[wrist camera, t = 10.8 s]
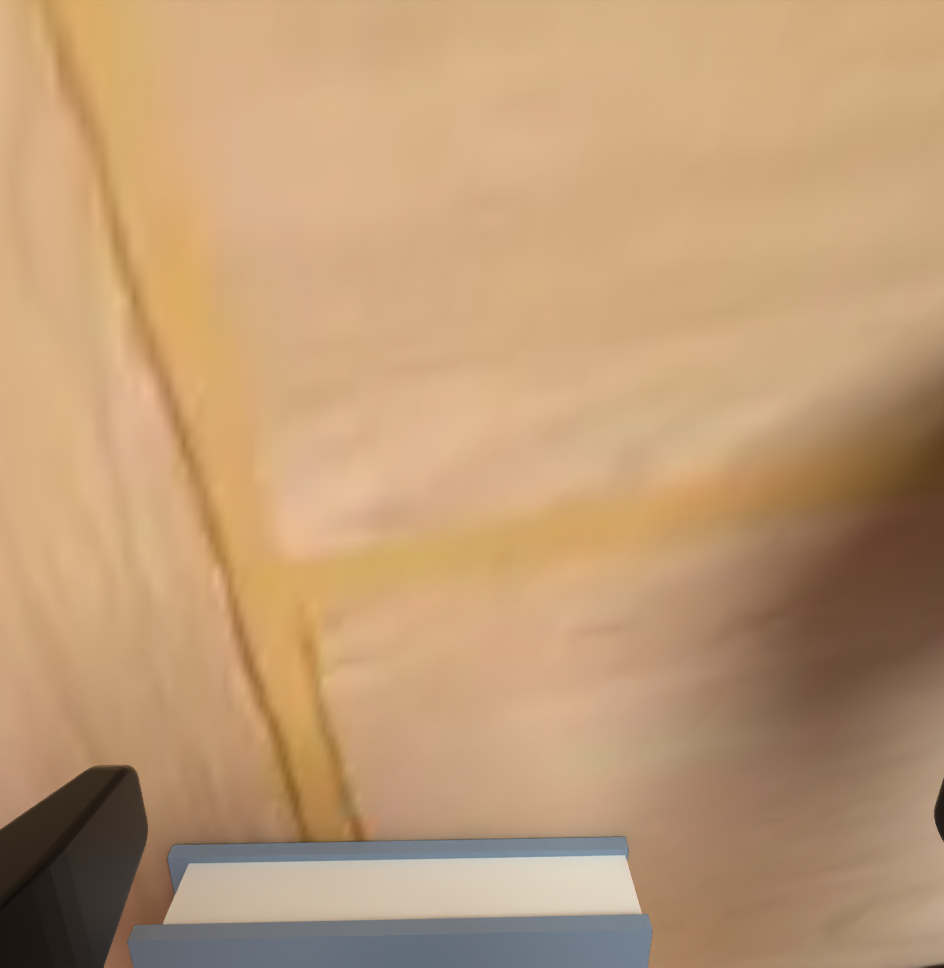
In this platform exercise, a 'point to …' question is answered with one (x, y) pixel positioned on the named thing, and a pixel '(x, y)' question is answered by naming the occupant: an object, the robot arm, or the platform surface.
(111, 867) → the robot arm
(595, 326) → the platform surface
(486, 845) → the book
